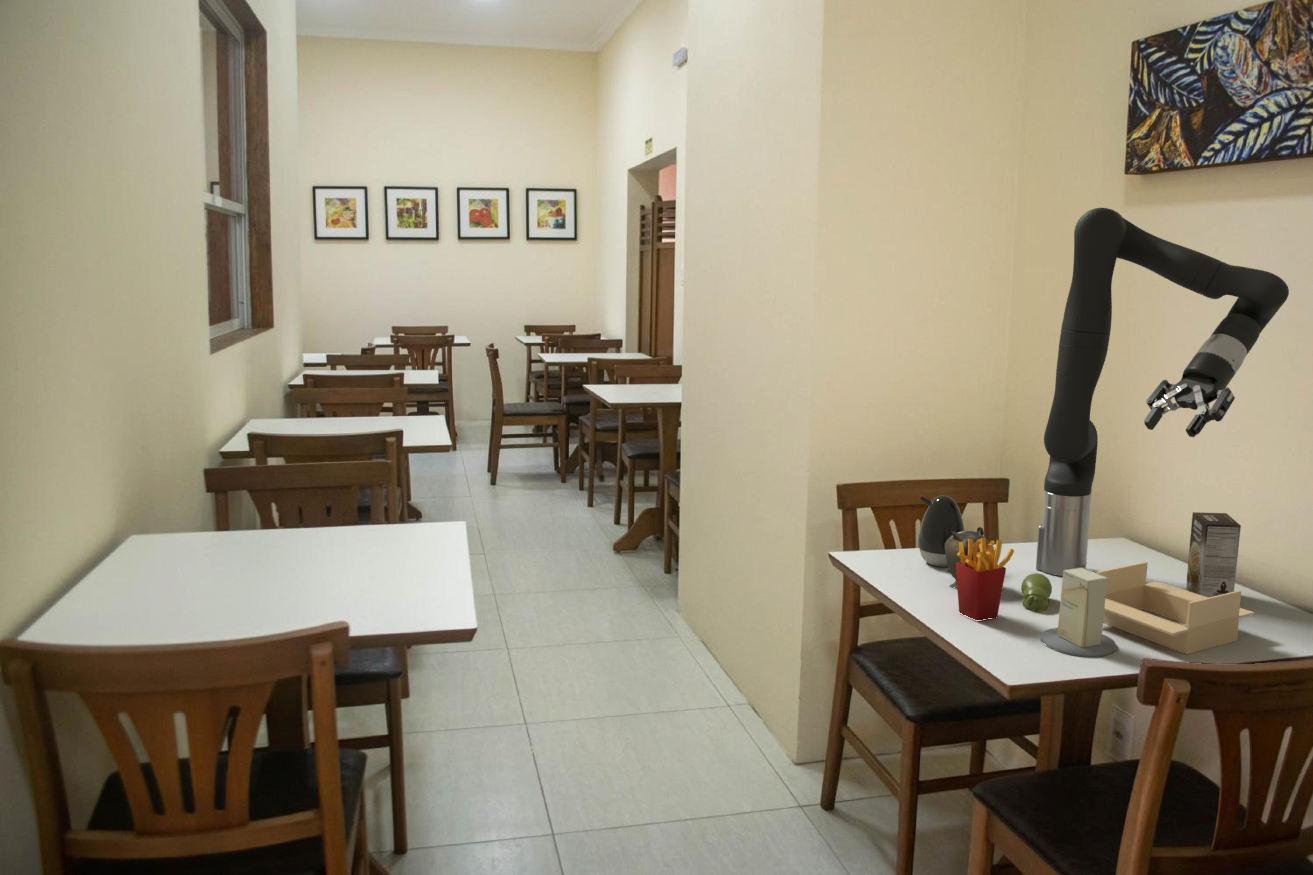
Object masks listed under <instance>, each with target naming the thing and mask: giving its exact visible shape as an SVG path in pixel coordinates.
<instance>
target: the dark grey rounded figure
mask: <svg viewBox="0 0 1313 875" xmlns="http://www.w3.org/2000/svg"><path fill="white" fill-rule="evenodd" d="M919 500H920V501H921V502H922V503H923V504H925V505H926V506H928V507H927V509H926V511H925V513H924V515H923V517H922V521H921V524H920V527H919V533H918V539H917V547H918V550H919V552H920V556H921V557H922V559H923V560H924V561H925V562H926V563H928V564H930V565H932V566H935V567H941V568H943V567H944V568H946V567H947V568H948V565H947V562H946V555H945V543H946V541H947V540H948V539H949V538H950V537H951V536H952V532H951V531H953V532H957V533H958V532H962V531H966V529H965V528H966V527H965V523H964V520H963V516H962V513H961V510H960V508H959V506H958V504H957V502H956V501H955V500H954V498H952V497H951V496H948V495H945V494H944V495H937V496H936V497H934V498H933V500H932V499H929V498H927V497H926V496H923V495H921V496H920V498H919Z"/></svg>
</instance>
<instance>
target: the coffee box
mask: <svg viewBox="0 0 1313 875" xmlns="http://www.w3.org/2000/svg"><path fill="white" fill-rule="evenodd" d="M1241 528H1242V526H1241V524H1239V523H1238V522H1237V521H1236V520H1235V519H1234V518H1232V516H1230V515H1229V514H1228V513H1226V512H1223V513H1222V512H1200V511H1199V512H1192V518H1191V527H1190V537H1189V550H1188V551H1189V552H1188V563H1187V572H1186V573H1187V574H1186V585H1185V590H1186V591H1189V592H1193V593H1196V594H1199V595H1202V596H1205V597H1208V598H1210V597H1214V596H1218V595H1222V594H1226V593H1230V592H1235V586H1236V585H1235V584H1236V576H1237V566H1238V565H1237V564H1238V558H1239V547H1240V537H1241V530H1242V529H1241Z"/></svg>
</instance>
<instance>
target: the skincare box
mask: <svg viewBox="0 0 1313 875" xmlns="http://www.w3.org/2000/svg"><path fill="white" fill-rule="evenodd" d="M1061 582H1062V583H1061V593H1060V602H1059V614H1058V622H1057V624H1058V625H1057V628H1058V633H1057V635H1058V636H1060V637H1062V638H1064V639H1066V640H1067V641H1069V642H1071V643H1073V644H1075V645H1077V646H1079V647H1082V648H1083V647H1089V646H1095V645H1100V644H1101V636H1102V633H1103V627H1104V626H1103V624H1104V623H1103V617H1104V607H1105V597H1106V588H1107V577H1104V576H1102V575H1099V574H1097V573H1096V572H1094V571H1091V570H1089V569H1087V568H1086V569H1084V568H1082V567H1081V568H1074V569H1067V570H1063V576H1062V581H1061Z"/></svg>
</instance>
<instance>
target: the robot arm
mask: <svg viewBox="0 0 1313 875" xmlns="http://www.w3.org/2000/svg"><path fill="white" fill-rule="evenodd" d="M1073 232H1074V233H1073V239H1074V240H1073V246H1074V247H1073V264H1072V265H1073V267H1072V268H1073V270H1072V277H1071V278H1072V279H1071V283H1070V287H1069V288H1070V289H1069V292H1068V295H1067V298H1066V302H1065V308H1064V313H1063V319H1062V323H1061V328H1060V329H1061V330H1060V335H1059V343H1058V352H1057V353H1058V354H1057V361H1056V370H1055V371H1056V372H1055V385H1054V394H1053V395H1054V396H1053V400H1052V404H1051V407H1050V408H1051V409H1050V412H1049V416H1048V420H1047V424H1046V427H1045V429H1044V430H1045V431H1044V435H1043V444H1044V448H1045V450H1046V452H1047V454H1048V455H1049V463H1048V468H1047V471H1046V474H1045V478H1044V484H1043V486H1044V487H1043V501H1042V502H1043V504H1042V505H1043V506H1042V517H1041V518H1042V519H1041V521H1042V522H1041V524H1040V525H1039V526H1038V530H1037V531H1038V532H1037V547H1036V562H1035V570H1038V571H1042V572H1043V573H1045V574H1046V573H1047V574H1050V575H1055V576H1061V577H1063V570H1067V569H1074V568H1081V567H1082V568H1084V569H1087V563H1088V562H1087V560H1088V558H1087V556H1088V545H1089V544H1088V543H1089V530H1090V519H1091V518H1090V517H1091V516H1090V515H1091V501H1092V500H1091V499H1092V487H1093V483H1094V479H1095V474H1096V464H1097V453H1098V445H1099V444H1098V442H1099V441H1098V440H1099V439H1098V431H1097V427H1096V426H1095V425H1094V423H1093V422H1092V420H1091V408H1092V402H1093V396H1094V393H1095V390H1096V387H1097V385H1098V381H1099V379H1100V377H1101V374H1102V370H1103V369H1104V365H1105V362H1106V359H1107V354H1108V351H1109V343H1110V337H1111V330H1112V318H1113V317H1112V316H1113V313H1112V312H1113V302H1112V299H1113V298H1112V285H1113V284H1112V283H1113V274H1114V272H1115V271H1114V270H1115V266H1116V262H1117V259H1120V260H1124V261H1127V262H1129V263H1133V264H1135V265H1138V266H1141V267H1143V268H1145V269H1147V270H1149V271H1151V272H1152V273H1155V274H1157V275H1159V276H1160V277H1162V278H1164V279H1166V280H1168V281H1169V282H1171V283H1174V284H1176V285H1178V286H1180V287H1182V288H1185V289H1187V290H1190V291H1192V292H1194V293H1196V294H1198V295H1201V296H1203V297H1206V298H1208V299H1212V300H1219V299H1220V298H1222V297H1225V296H1231V297H1237V298H1236V300H1235V302H1234V303H1233V305H1232V306H1231V308H1230V310H1229V311H1228V312H1227V315H1226V316H1225V317H1224V318H1223V319H1222V320H1221V321H1220V322H1219V324H1218V325H1217V326H1216V327H1215V329H1214V330H1213V332H1212V333H1211V335H1210V337H1208V339H1207V340H1205V341H1204V343H1203V344H1202V345H1201V346H1200V348H1199V349H1198V351H1197V352H1196V353H1195V354H1194V356H1193V357H1192V359H1191V360H1190V362H1189V363H1188V364H1187V366H1186V367H1185V368H1184V370H1183V372H1182V377H1181V379H1180V380H1179V381H1178V382H1177V383H1175V384H1174V383H1170V382H1169V380H1167V379H1163V380H1162V381H1160V383H1159V384H1158V385H1157V387H1156V388H1155V389H1154V391H1153V392H1152V393H1151V394H1150V396H1149V397H1148V398H1147V399H1146V401H1145V403H1146V404H1147V406H1148V408H1149V409H1150V411H1149V412H1148V414H1147V415H1146V417H1145V418H1144V425H1145V427H1146V429H1148V430H1150V431H1153V430H1154V429H1155V428H1156V426H1157V425H1158V423H1159V422H1160V421H1161V420H1162V418H1163V415H1165V414H1167V413H1168V412H1170V411H1173V412H1175V411H1176V410H1178V409H1180V408H1181V409H1190V410H1192V411H1193V410H1194V411H1196V410H1198V413H1197V414H1195V415H1194V417H1193V418H1192V420H1191V421H1190V422H1189V424H1188V425H1187V427H1186V428H1185V432H1186V434H1187V436H1188V437H1190V438H1195V437H1196V436H1197V435H1199V434H1200V433H1201V432H1202V430H1203V429H1204V427H1205V426H1206V424H1208V423H1210V422H1211V421H1215V422H1221V421H1222V420H1223V419H1224V417H1225V416H1226V414H1227V412H1228V410H1229V409H1230V407H1231V405H1232V404H1233V402H1234V401H1235V399H1236V397H1235V395H1234V394H1233V392H1232V390H1231V389H1230V387H1228V385H1229V383H1230V382H1231V381H1232V380H1233V378H1234V377H1235V375H1236V373H1237V372H1238V371H1239V369H1241V367H1242V366H1243V364H1244V361H1245V359H1246V357H1247V355H1248V354H1249V353H1250V352H1251V350H1252V349H1253V347H1254V346H1255V344H1256V343H1257V341H1258V339H1259V337H1260V335H1261V333H1262V331H1263V330H1264V329H1265V328H1266V326H1267V325H1268V323H1269V322H1270V321H1271V320H1272V319H1273V318H1274V316H1275V315H1276V314H1277V312H1279V310H1280V309H1281V307H1282V306H1283V305H1284V304H1285V302H1287V300H1288V297H1289V295H1290V289H1289V286H1288V285H1287V283H1286V282H1285V281H1284V280H1283V279H1282V278H1281V277H1280V276H1278V275H1277V274H1275V273H1272V272H1270V271H1266V270H1263V269H1257V268H1252V267H1251V268H1250V267H1246V266H1240V265H1233V264H1228V263H1227V262H1224V261H1222V260H1220V259H1218V258H1215V257H1212V256H1210V255H1207V254H1205V253H1202V252H1199V251H1198V250H1194V249H1191V248H1189V247H1187V246H1183V245H1180V244H1177V243H1174V242H1171V241H1170V240H1169V241H1168V240H1166V239H1163V238H1161V237H1158V236H1156V235H1154V234H1152V233H1150V232H1147V231H1146V230H1144V229H1142V228H1140V227H1138V226H1137V225H1135V224H1134V223H1132V222H1131V221H1129V220H1127V219H1125V217H1123V216H1122V215H1121V214H1120V213H1119V212H1118V211H1116V210H1114V209H1111V208H1108V207H1095V208H1092V209H1090V210H1087V211H1086V212H1085V213H1083V215H1081V216H1080V217H1079V219H1078V220H1077V222H1076V224H1075V227H1074V231H1073ZM1173 398H1174V400H1175V402H1174V403H1173V402H1172V399H1173ZM1213 401H1214V403H1213ZM1211 403H1213V405H1212V406H1211V408H1210V404H1211ZM1162 406H1163V407H1162Z"/></svg>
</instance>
